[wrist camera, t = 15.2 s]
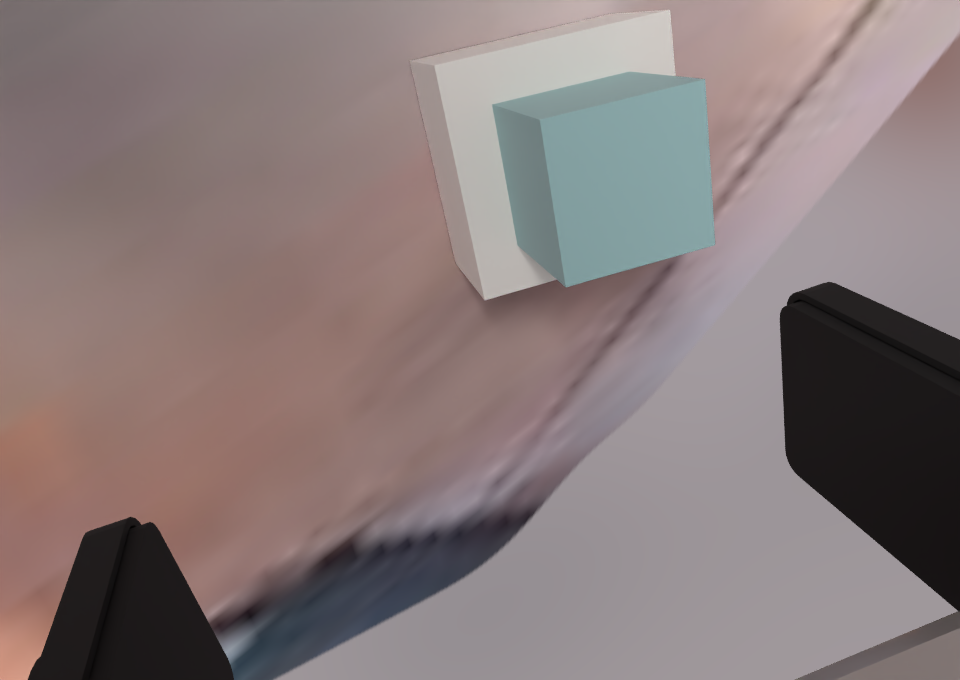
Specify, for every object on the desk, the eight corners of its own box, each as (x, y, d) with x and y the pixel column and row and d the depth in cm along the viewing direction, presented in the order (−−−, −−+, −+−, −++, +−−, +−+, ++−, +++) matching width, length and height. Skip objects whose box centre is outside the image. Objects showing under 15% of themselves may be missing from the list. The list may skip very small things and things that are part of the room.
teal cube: (492, 104, 30) (539, 119, 24) (629, 71, 30) (704, 79, 25) (517, 245, 32) (565, 287, 27) (643, 210, 33) (715, 245, 28)
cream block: (409, 60, 34) (434, 65, 28) (610, 13, 35) (670, 9, 30) (455, 262, 38) (484, 300, 33) (633, 213, 39) (689, 241, 34)
